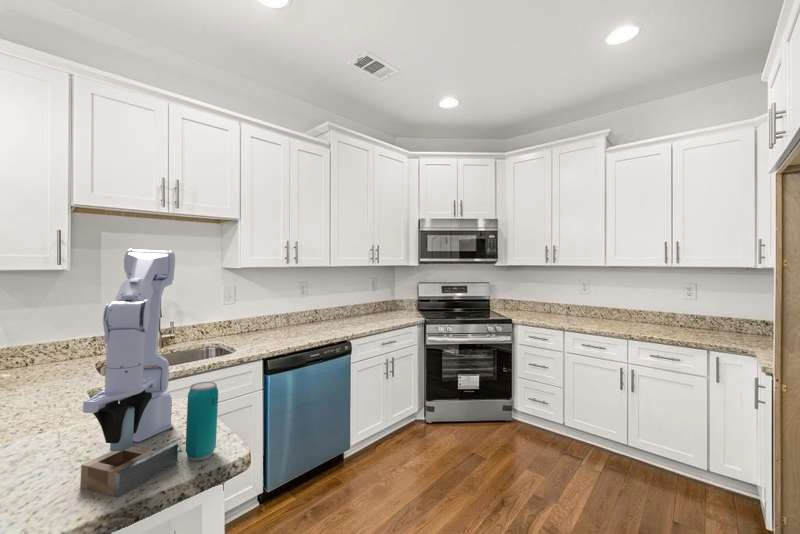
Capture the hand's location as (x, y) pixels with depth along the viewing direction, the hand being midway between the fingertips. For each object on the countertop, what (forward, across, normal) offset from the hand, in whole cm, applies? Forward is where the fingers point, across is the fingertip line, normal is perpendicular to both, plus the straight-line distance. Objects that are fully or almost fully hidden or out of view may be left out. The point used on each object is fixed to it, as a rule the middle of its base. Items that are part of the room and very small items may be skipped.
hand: (121, 437), depth 69 cm
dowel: (+2, 0, 0) cm, 2 cm away
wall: (+8, -1, +5) cm, 9 cm away
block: (+8, 0, 0) cm, 8 cm away
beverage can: (+8, -10, +9) cm, 16 cm away
